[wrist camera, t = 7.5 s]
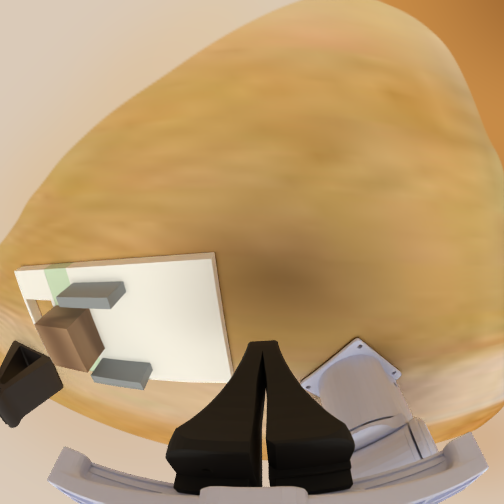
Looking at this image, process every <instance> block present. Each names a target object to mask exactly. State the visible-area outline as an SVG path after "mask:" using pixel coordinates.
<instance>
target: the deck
mask: <svg viewBox="0 0 504 504" xmlns="http://www.w3.org/2000/svg"><path fill="white" fill-rule="evenodd" d="M50 265H51V264H46V265H33V266H22V267H20V268H19V269H17V270H15V271H14V272H15V275H16V278H17V281H18V284H19V287H20V290H21V293H22V296H23V298H24V301H25V304H26V306H27V309H28V311H29V314H30V316H31V318H32V321H33V323H34V324H35V323H36V322H37V321H38V320H40V319H41V318H42V315H41V313H40V310H39V308H38V305H37V303H36V300H51V302H52V305H53V307H54V306H55V305H56V304H55V302H54V299H53V296H52V293H51V290H50V287H49V284H48V281H47V278H46V275H45V272H44V269H45V268H47V267H48V266H50ZM66 272H67V275H68V278H69V282H70V286H69V287H67V288H66V289H65V290H64V291H62V292H61V293H60V294H59V295H57V296H56V299H57V302H58V305H59V307H67V308H89V309H90V312H91V315H92V318H93V320H94V323H95V325H96V328H97V330H98V333H99V335H100V338H101V340H102V343H103V345H104V347H105V349H104V350H103V352H102V353H101V355H100V356H99V358H100V360H101V361H100V362H99V364H98V365H97V367H96V368H95V370H94V371H93V373H92V374H91V377H92V379H93V380H94V382H96V383H101V384H107V385H112V386H118V387H125V388H132V389H139V390H144V388H145V386H146V384H147V382H148V379H153V380H164V381H179V382H201V383H228V381H229V380H230V378H231V377H232V375H233V374H234V372H233V366H232V361H231V355H230V349H229V343H228V338H227V332H226V325H225V319H224V313H223V307H222V300H221V294H220V287H219V280H218V273H217V266H216V259H215V252H209V253H195V254H181V255H168V256H154V257H140V258H127V259H113V260H100V261H86V262H74V263H72V264H71V265H69V266H68V267H66ZM35 328H36V327H35ZM36 330H37V329H36ZM44 347H45V346H44Z"/></svg>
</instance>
